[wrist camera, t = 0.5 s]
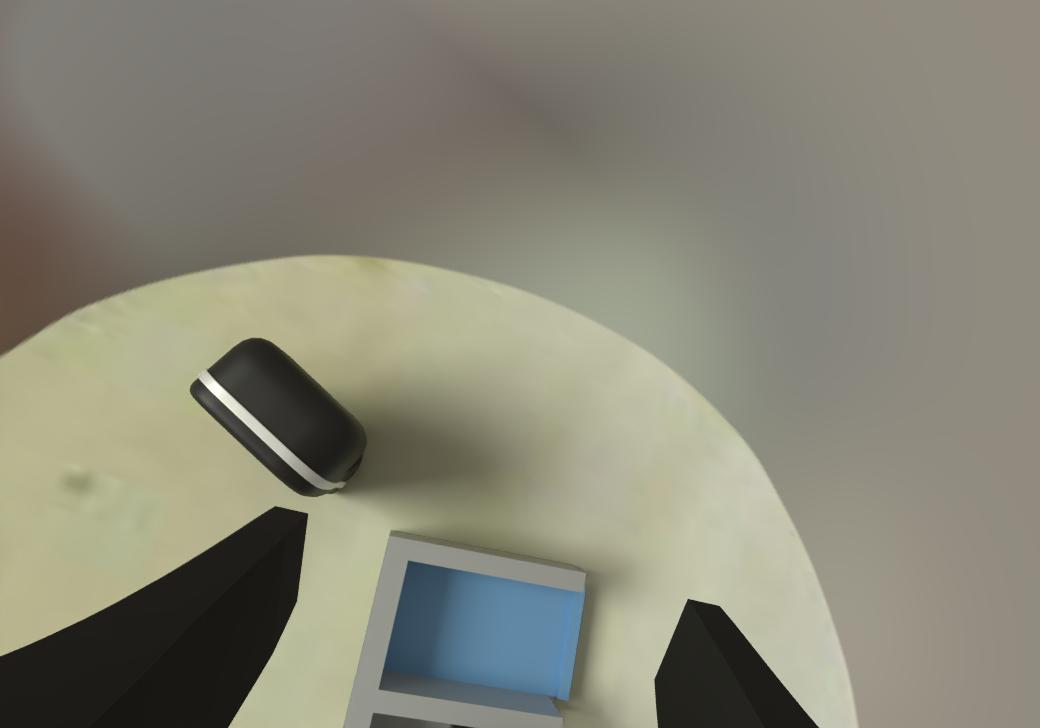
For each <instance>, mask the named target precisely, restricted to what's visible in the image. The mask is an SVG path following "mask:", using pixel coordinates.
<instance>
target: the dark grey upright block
mask: <svg viewBox="0 0 1040 728" xmlns="http://www.w3.org/2000/svg"><path fill="white" fill-rule="evenodd" d="M450 728H474V727H467V726H460V725H454V724H451V725H450Z"/></svg>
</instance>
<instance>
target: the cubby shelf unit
mask: <svg viewBox="0 0 1040 728" xmlns="http://www.w3.org/2000/svg"><path fill="white" fill-rule="evenodd" d="M585 579H586V573H585V572H583V571H581V570H578V569H576V566H574V565H569V564H564V563H559V562H554V561H548V560H543V559H538V558H533V557H528V556H522V555H517V554H512V553H507V552H502V551H496V550H491V549H486V548H481V547H475V546H470V545H465V544H460V543H455V542H449V541H444V540H439V539H434V538H429V537H423V536H418V535H413V534H408V533H403V532H397V531H392V530H391V532H390V535H389V539H388V543H387V547H386V552H385V556H384V560H383V564H382V568H381V572H380V576H379V581H378V585H377V589H376V593H375V597H374V601H373V606H372V610H371V614H370V618H369V622H368V626H367V631H366V635H365V639H364V643H363V647H362V651H361V656H360V660H359V664H358V668H357V672H356V676H355V680H354V685H353V689H352V693H351V697H350V701H349V705H348V710H347V714H346V718H345V722H344V726H343V728H450V725H451V724H454V725H460V726H467V727H474V728H562V724H563V717H562V715H561V714H560V712H559V711H558V710H557V708H556V707H555V705H554V701H555V697H557V699H559V700H565V701H568V700H569V694H570V687H571V681H572V675H573V668H574V662H575V656H576V649H577V643H578V637H579V630H580V624H581V618H582V611H583V605H584V599H585V592H586V587H584V585H585Z"/></svg>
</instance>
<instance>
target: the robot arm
mask: <svg viewBox="0 0 1040 728" xmlns="http://www.w3.org/2000/svg"><path fill="white" fill-rule="evenodd" d="M307 519H308V513H303V512H299V511H294V510H290V509H285V508H281V507H277V506H275V507H273V508H272V509H270V510H268V511H267V512H265V513H263V514H262V515H260V516H259V517H257V518H256V519H254V520H253V521H251V522H249V523H248V524H246V525H245V526H243V527H242V528H240V529H239V530H237V531H236V532H234V533H233V534H231V535H230V536H228V537H226V538H225V539H223V540H222V541H220V542H219V543H217V544H216V545H214V546H212V547H211V548H209V549H208V550H206V551H204V552H203V553H201V554H199V555H198V556H196V557H195V558H193V559H191V560H190V561H188V562H186V563H185V564H183V565H182V566H180V567H178V568H177V569H175V570H173V571H172V572H170V573H168V574H167V575H165V576H163V577H161V578H160V579H158V580H156V581H154V582H153V583H151V584H149V585H147V586H145V587H144V588H142V589H140V590H138V591H136V592H135V593H133V594H131V595H129V596H127V597H126V598H124V599H122V600H120V601H118V602H117V603H115V604H113V605H111V606H109V607H107V608H105V609H103V610H101V611H99V612H97V613H95V614H94V615H92V616H90V617H88V618H86V619H84V620H82V621H79V622H77V623H75V624H73V625H71V626H69V627H67V628H64V629H62V630H60V631H58V632H56V633H54V634H52V635H49V636H47V637H45V638H43V639H41V640H39V641H36V642H34V643H32V644H30V645H27V646H25V647H22V648H20V649H18V650H15V651H13V652H10V653H8V654H5V655H3V656H0V728H228V727H229V725H230V723H231V722H232V720H233V719H234V717H235V715H236V714H237V712H238V710H239V709H240V707H241V705H242V704H243V702H244V701H245V699H246V697H247V696H248V694H249V692H250V691H251V689H252V687H253V686H254V684H255V682H256V681H257V679H258V677H259V676H260V674H261V672H262V671H263V669H264V667H265V666H266V664H267V662H268V661H269V659H270V657H271V656H272V654H273V652H274V650H275V648H276V645H277V643H278V641H279V639H280V637H281V635H282V633H283V631H284V629H285V626H286V624H287V622H288V620H289V618H290V615H291V613H292V611H293V609H294V607H295V604H296V602H297V597H298V589H299V581H300V574H301V566H302V558H303V550H304V542H305V535H306V527H307ZM654 681H655V695H656V709H657V720H658V728H819V727H818V726H817V725H816V724H815V723H814V721H813V720H812V719H811V718H810V717H809V716H808V714H807V713H806V712H805V711H804V710H803V708H802V707H801V706H800V705H799V704H798V702H797V701H796V700H795V699H794V697H793V696H792V695H791V694H790V693H789V691H788V690H787V689H786V688H785V686H784V685H783V684H782V683H781V682H780V680H779V679H778V678H777V677H776V675H775V674H774V673H773V672H772V670H771V669H770V668H769V667H768V665H767V664H766V663H765V662H764V660H763V659H762V658H761V656H760V655H759V654H758V653H757V651H756V650H755V649H754V648H753V646H752V645H751V644H750V643H749V641H748V640H747V639H746V638H745V636H744V635H743V634H742V633H741V631H740V630H739V629H738V628H737V626H736V625H735V624H734V623H733V621H732V620H731V619H730V618H729V617H728V615H727V614H726V613H725V612H724V611H723V610H722V608H721V607H720V606H717V605H713V604H708V603H704V602H699V601H695V600H690V599H688V600H687V602H686V605H685V607H684V610H683V612H682V615H681V617H680V619H679V622H678V624H677V627H676V629H675V631H674V634H673V636H672V639H671V641H670V644H669V646H668V648H667V651H666V653H665V656H664V658H663V660H662V663H661V665H660V668H659V670H658V672H657V675H656V677H655V680H654Z"/></svg>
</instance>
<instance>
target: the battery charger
mask: <svg viewBox="0 0 1040 728" xmlns="http://www.w3.org/2000/svg"><path fill="white" fill-rule="evenodd" d="M190 393H191V395H192V396H193V398H194V399H195V400H196V401H197V402H198V403H199V404H200V405H201V406H202V407H203V408H204V409H205V410H206V411H207V412H208V413H209V414H210V415H211V416H212V417H213V418H214V419H215V420H216V421H217V422H218V423H219V424H220V425H222V426H223V427H224V428H225V429H226V430H227V431H228V432H229V433H230V434H231V435H232V436H233V437H234V438H235V439H236V440H237V441H238V442H239V443H241V444H242V445H243V446H244V447H245V448H246V449H247V450H248V451H249V452H250V453H251V454H252V455H253V456H254V457H256V458H257V459H258V460H259V461H260V462H261V463H262V464H263V465H264V466H265V467H266V468H267V469H268V470H269V471H271V472H272V473H273V474H274V475H275V476H276V477H277V478H278V479H279V480H281V481H282V482H283V483H284V484H285V485H287V486H288V487H289V488H291V489H292V490H293V491H295V492H296V493H298V494H300V495H303V496H308V497H318V496H321V495H324V494H333V493H335V492H336V491H337V490H338V489H339V488H343V487H344V485H345V484H346V481H347V480H348V479H349V478H350V477H351V476H352V475H353V474H354V473H355V471H356V469H357V468H358V466H359V465H360V462H361V460H362V455H363V454H362V453H363V452H364V450H365V447H366V445H367V441H366V434H365V431H364V428H363V427H362V425H361V424H360V423H359V422H358V421H357V420H356V419H355V418H354V416H353V415H352V414H350V413H349V412H348V411H347V410H346V409H345V408H344V407H343V406H342V405H341V404H340V403H339V402H338V401H337V400H335V399H334V398H333V397H332V396H331V395H330V394H329V393H328V392H327V391H326V390H325V389H324V388H323V387H322V386H321V385H320V384H318V383H317V382H316V381H315V380H314V379H313V378H312V377H311V376H310V375H309V374H308V373H307V372H306V371H305V370H304V369H302V368H301V367H300V366H299V365H298V364H297V363H296V362H295V361H294V360H293V359H292V358H291V357H290V356H288V355H287V354H286V353H285V352H284V351H282V350H281V349H280V348H279V347H277V346H276V345H275V344H273V343H272V342H270V341H268V340H265V339H262V338H250V339H247V340H244V341H242V342H240V343H239V344H237V345H236V346H235V347H233V348H232V349H231V350H230V351H229V352H227V353H226V354H225V355H224V356H223V357H222V358H221V359H219V360H218V361H217V362H216V363H215V364H214V365H213V366H211V367H210V368H209V369H204V370H203V371H202V372H201V373H200V374H199V375H198V379H196V380H195V381H194V382H193V383H192V385H191V387H190Z"/></svg>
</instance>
